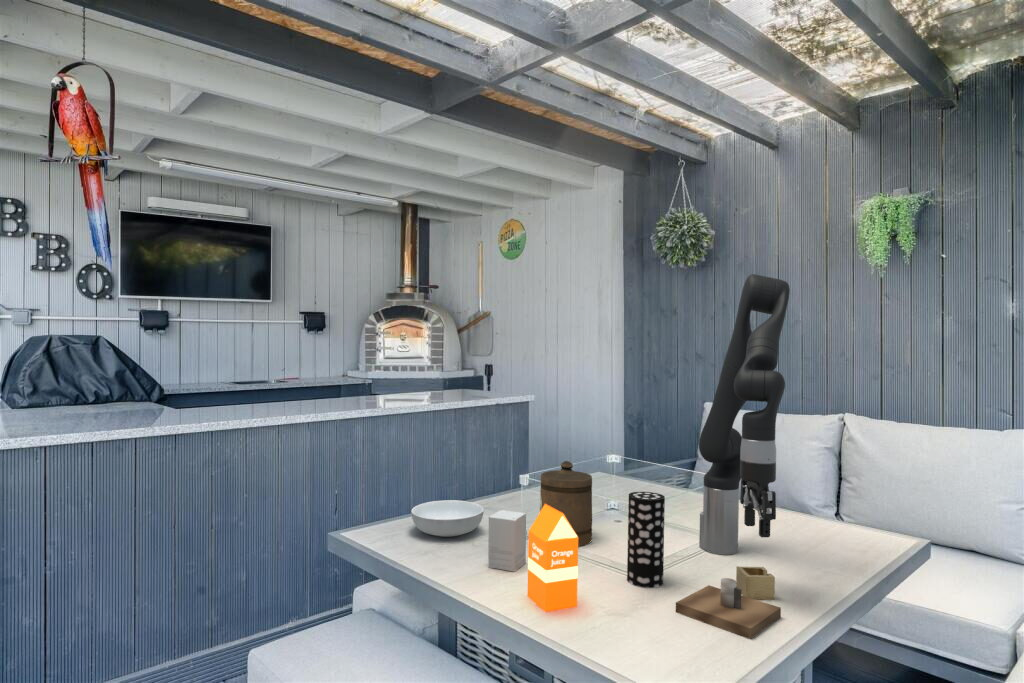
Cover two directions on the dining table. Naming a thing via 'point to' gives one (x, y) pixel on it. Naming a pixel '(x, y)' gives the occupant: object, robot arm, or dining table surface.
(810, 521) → the dining table surface
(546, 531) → the orange juice
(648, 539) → the spotted tube
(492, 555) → the supplement box
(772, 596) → the slotted square frame
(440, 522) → the serving bowl
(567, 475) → the wooden container
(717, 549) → the robot arm
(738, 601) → the shaft stand
